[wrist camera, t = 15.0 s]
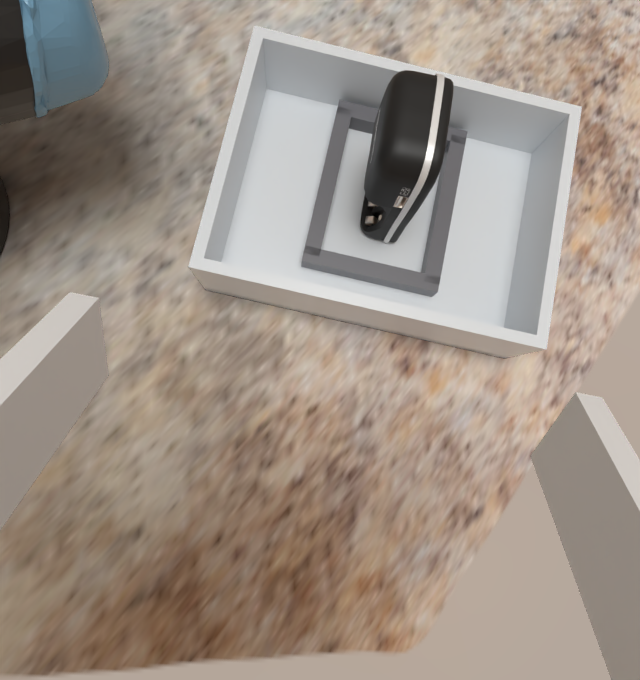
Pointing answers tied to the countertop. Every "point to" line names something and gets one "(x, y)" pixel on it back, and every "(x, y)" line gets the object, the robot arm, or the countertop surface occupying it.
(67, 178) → the countertop surface
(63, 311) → the robot arm
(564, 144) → the bin
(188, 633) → the countertop surface
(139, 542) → the countertop surface
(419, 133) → the battery charger
